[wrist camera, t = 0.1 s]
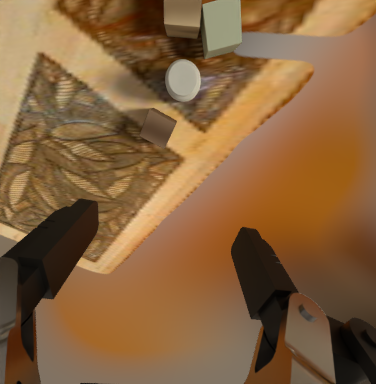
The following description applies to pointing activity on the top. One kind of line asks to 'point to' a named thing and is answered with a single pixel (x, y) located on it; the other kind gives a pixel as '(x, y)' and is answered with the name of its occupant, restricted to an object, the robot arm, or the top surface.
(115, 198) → the top surface
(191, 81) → the supplement bottle
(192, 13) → the oak block
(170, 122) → the walnut block
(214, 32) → the sage block
